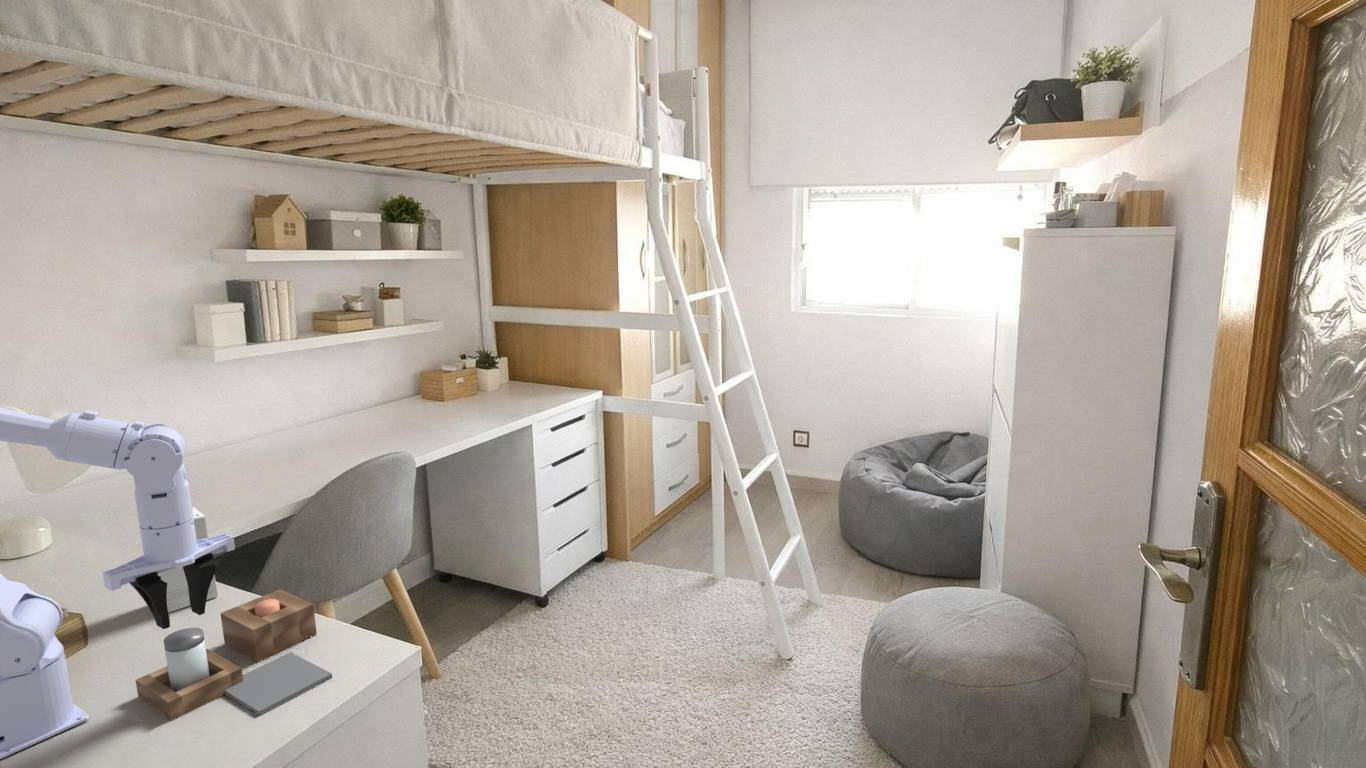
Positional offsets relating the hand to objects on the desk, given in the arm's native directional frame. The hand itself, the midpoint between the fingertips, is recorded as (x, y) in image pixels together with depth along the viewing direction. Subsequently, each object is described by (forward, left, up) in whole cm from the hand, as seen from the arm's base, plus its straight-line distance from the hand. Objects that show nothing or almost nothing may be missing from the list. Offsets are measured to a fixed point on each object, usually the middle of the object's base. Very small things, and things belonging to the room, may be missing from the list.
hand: (181, 619), depth 100 cm
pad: (+7, -8, -10) cm, 15 cm away
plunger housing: (+13, +4, -10) cm, 17 cm away
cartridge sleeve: (0, 0, -10) cm, 10 cm away
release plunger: (+13, +4, -10) cm, 17 cm away
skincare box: (+12, +28, -11) cm, 32 cm away
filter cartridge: (0, 0, -10) cm, 10 cm away
